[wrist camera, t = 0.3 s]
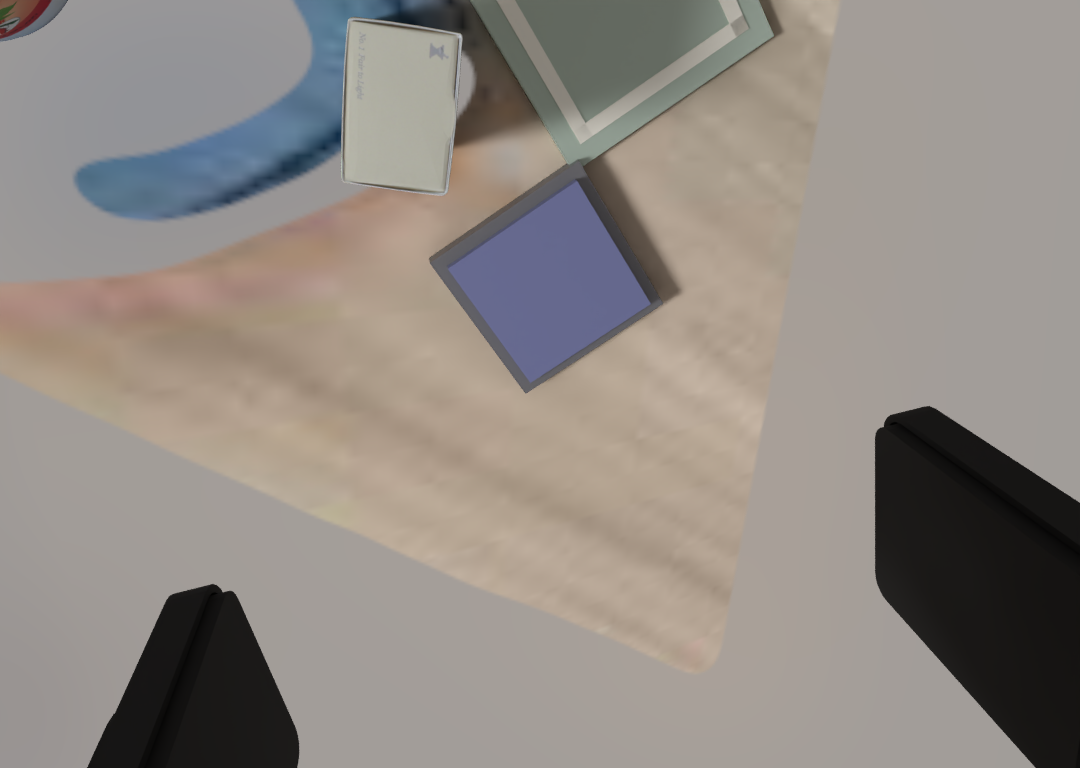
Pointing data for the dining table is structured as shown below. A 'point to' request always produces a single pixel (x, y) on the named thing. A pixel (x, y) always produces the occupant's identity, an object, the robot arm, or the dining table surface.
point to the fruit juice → (26, 16)
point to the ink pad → (547, 277)
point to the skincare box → (399, 105)
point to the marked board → (616, 59)
